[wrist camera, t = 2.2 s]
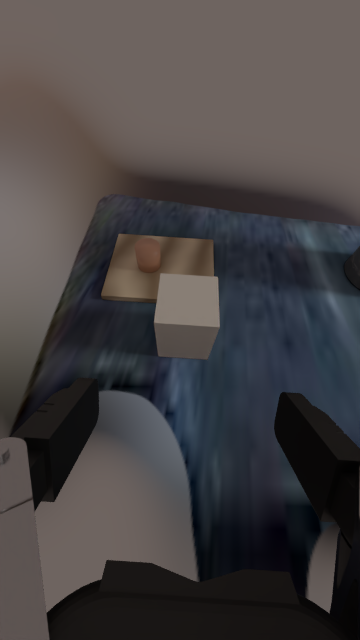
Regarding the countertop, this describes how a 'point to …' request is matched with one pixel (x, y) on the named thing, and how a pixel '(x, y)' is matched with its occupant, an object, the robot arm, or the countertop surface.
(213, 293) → the light grey cuboid block
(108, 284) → the board
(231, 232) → the countertop surface
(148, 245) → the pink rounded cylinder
